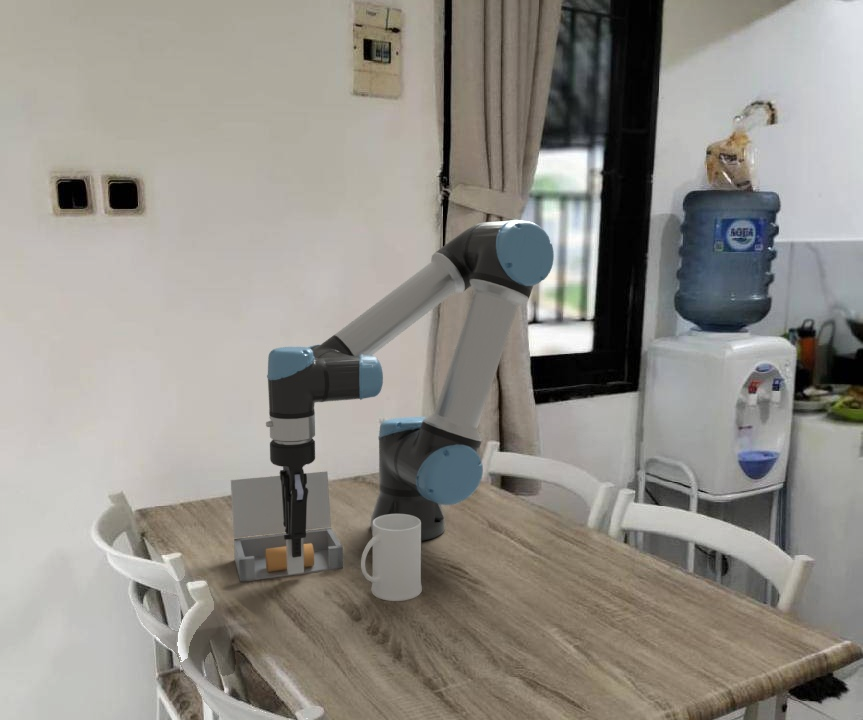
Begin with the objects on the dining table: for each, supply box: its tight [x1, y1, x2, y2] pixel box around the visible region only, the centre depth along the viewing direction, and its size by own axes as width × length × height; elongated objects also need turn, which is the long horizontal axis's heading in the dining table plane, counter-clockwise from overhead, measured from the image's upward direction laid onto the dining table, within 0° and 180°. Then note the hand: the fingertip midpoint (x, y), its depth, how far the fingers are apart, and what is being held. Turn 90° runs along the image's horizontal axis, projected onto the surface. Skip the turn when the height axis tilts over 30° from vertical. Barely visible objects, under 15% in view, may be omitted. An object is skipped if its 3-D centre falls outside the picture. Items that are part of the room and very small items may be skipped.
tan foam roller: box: [265, 543, 314, 572], centre depth 136 cm, size 8×4×4 cm
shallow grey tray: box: [233, 527, 344, 583], centre depth 139 cm, size 18×10×4 cm, turn 109°
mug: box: [360, 514, 423, 602], centre depth 127 cm, size 12×8×12 cm
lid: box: [230, 470, 332, 539], centre depth 144 cm, size 18×10×1 cm
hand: (295, 571), depth 133 cm, fingers closed
